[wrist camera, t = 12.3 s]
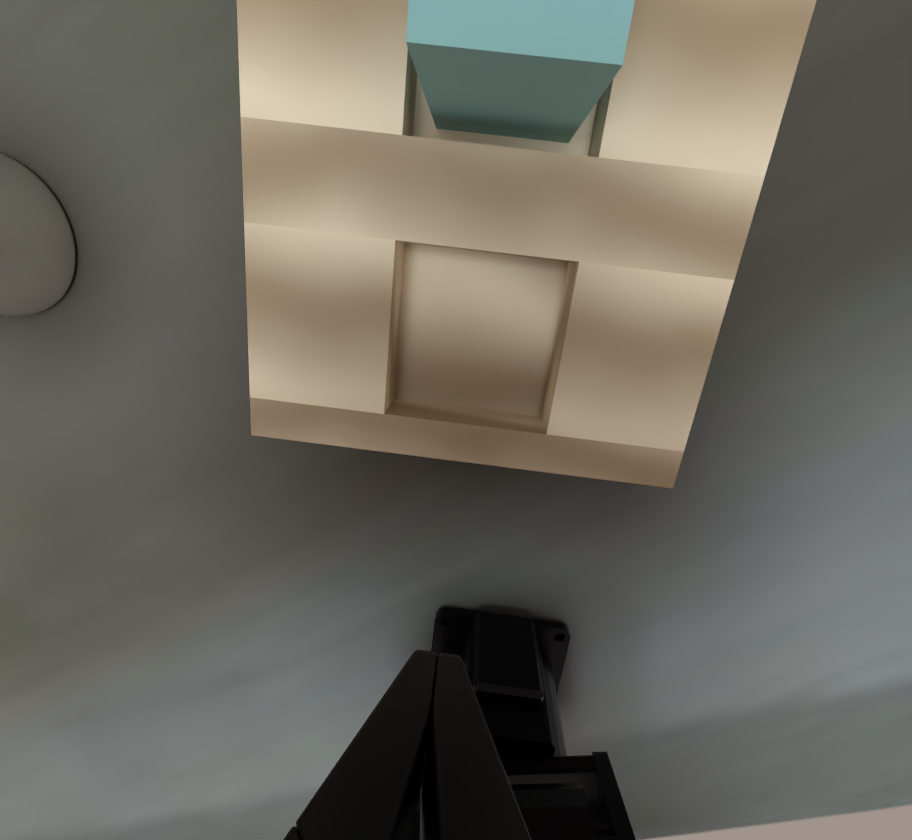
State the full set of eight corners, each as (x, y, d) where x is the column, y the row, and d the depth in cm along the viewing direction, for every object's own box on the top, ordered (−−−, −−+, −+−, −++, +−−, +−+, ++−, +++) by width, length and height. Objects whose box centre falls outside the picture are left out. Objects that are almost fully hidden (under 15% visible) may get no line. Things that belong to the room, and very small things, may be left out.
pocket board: (650, 461, 20) (673, 488, 17) (278, 414, 20) (251, 435, 18) (798, -87, 14) (863, -159, 12) (272, -141, 14) (229, -223, 12)
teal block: (568, 143, 16) (622, 64, 10) (436, 128, 16) (405, 41, 10) (595, -23, 14) (680, -241, 8) (450, -38, 14) (424, -266, 8)
